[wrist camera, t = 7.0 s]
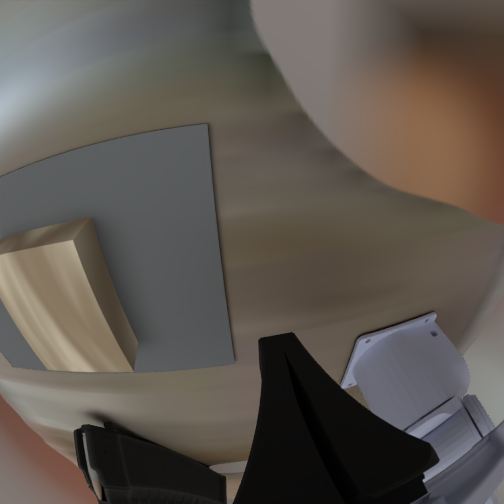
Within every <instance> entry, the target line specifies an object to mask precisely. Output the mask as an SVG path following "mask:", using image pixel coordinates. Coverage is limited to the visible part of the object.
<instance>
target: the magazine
mask: <svg viewBox="0 0 504 504" xmlns="http://www.w3.org/2000/svg"><path fill="white" fill-rule="evenodd" d="M104 427H105V428H102V427H98V426H93V425H89V424H86V425H82V426H81V428H80V429H76V430H74V440H75V448H76V455H77V462H78V466H79V468H80V469H81V470H82V471H83V473H84V476H85V478H86V481H87V483H88V484H89V488H90V489H91V490H92V491H93V492H94V494H95V495H96V497H97V500H98V503H99V504H227V501H226V500H227V496H226V477H225V476H222V475H220V474H218V473H216V472H214V471H213V470H211V469H209V468H207V467H206V466H204V465H202V464H200V463H198V462H196V461H194V460H192V459H190V458H188V457H185V456H183V455H181V454H178V453H176V452H174V451H172V450H169V449H167V448H164V447H162V446H159V445H156V444H153V443H149V442H146V441H144V440H141V439H138V438H135V437H132V436H129V435H126V434H124V433H121V432H118V431H115V430H114V428H113V425H112V423H111V422H104Z"/></svg>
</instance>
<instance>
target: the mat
mask: <svg viewBox="0 0 504 504" xmlns="http://www.w3.org/2000/svg"><path fill="white" fill-rule="evenodd" d="M89 217H92V221H93V224H94V228H95V231H96V234H97V238H98V241H99V244H100V247H101V251H102V254H103V257H104V260H105V263H106V265H107V268H108V271H109V274H110V277H111V279H112V282H113V285H114V287H115V290H116V292H117V295H118V298H119V300H120V302H121V305H122V307H123V310H124V312H125V314H126V317H127V319H128V321H129V324H130V326H131V328H132V330H133V332H134V335H135V337H136V339H137V341H138V346H137V353H136V360H135V367H134V372H74V373H143V372H162V371H176V370H187V369H197V368H207V367H215V366H223V365H230V364H235V360H234V353H233V347H232V340H231V333H230V326H229V319H228V312H227V304H226V297H225V289H224V281H223V273H222V265H221V257H220V248H219V240H218V231H217V222H216V212H215V203H214V193H213V182H212V172H211V161H210V149H209V137H208V124H199V125H190V126H183V127H176V128H169V129H163V130H157V131H151V132H146V133H141V134H136V135H131V136H126V137H121V138H117V139H113V140H109V141H104V142H100V143H97V144H93V145H89V146H85V147H82V148H78V149H75V150H72V151H68V152H65V153H62V154H59V155H56V156H53V157H50V158H47V159H44V160H41V161H39V162H36V163H33V164H31V165H28V166H25V167H23V168H20V169H18V170H15V171H13V172H11V173H8V174H6V175H4V176H1V177H0V240H1V239H2V238H3V237H7V236H11V235H14V234H18V233H22V232H26V231H30V230H34V229H38V228H43V227H47V226H51V225H56V224H60V223H65V222H69V221H74V220H79V219H84V218H89ZM0 352H1V353H2V354H3V356H4V357H5V358H6V359H7V361H8V362H9V363H10V364H11V366H12V367H16V368H24V369H33V370H43V371H55V370H48V369H47V368H46V367H45V365H44V364H43V363H42V361H41V360H40V359H39V357H38V356H37V355H36V353H35V352H34V351H33V349H32V348H31V346H30V345H29V344H28V342H27V341H26V339H25V338H24V336H23V335H22V333H21V332H20V330H19V329H18V327H17V326H16V324H15V322H14V321H13V319H12V318H11V316H10V314H9V312H8V311H7V309H6V307H5V306H4V304H3V302H2V300H1V298H0ZM56 372H72V371H56Z"/></svg>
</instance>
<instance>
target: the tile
mask: <svg viewBox="0 0 504 504" xmlns="http://www.w3.org/2000/svg"><path fill="white" fill-rule="evenodd" d="M0 298H1V300H2V302H3V304H4V306H5V307H6V309H7V311H8V312H9V314H10V316H11V318H12V319H13V321H14V322H15V324H16V326H17V327H18V329H19V330H20V332H21V333H22V335H23V336H24V338H25V339H26V341H27V342H28V344H29V345H30V346H31V348H32V349H33V351H34V352H35V353H36V355H37V356H38V357H39V359H40V360H41V361H42V363H43V364H44V365H45V367H46V368H47V369H48V370H55V371H72V372H134V367H135V360H136V353H137V346H138V341H137V339H136V337H135V335H134V332H133V330H132V328H131V326H130V324H129V321H128V319H127V317H126V314H125V312H124V310H123V307H122V305H121V302H120V300H119V298H118V295H117V292H116V290H115V287H114V285H113V282H112V279H111V277H110V274H109V271H108V268H107V265H106V263H105V260H104V257H103V254H102V251H101V247H100V244H99V241H98V238H97V234H96V231H95V228H94V224H93V221H92V217H89V218H84V219H79V220H74V221H69V222H65V223H60V224H56V225H51V226H47V227H43V228H38V229H34V230H30V231H26V232H22V233H18V234H14V235H11V236H7V237H3V238H2V239H1V240H0Z"/></svg>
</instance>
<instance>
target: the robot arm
mask: <svg viewBox="0 0 504 504" xmlns="http://www.w3.org/2000/svg"><path fill="white" fill-rule="evenodd" d="M436 317H437V314H436V313H435V312H432V313H430V314H427V315H424V316H422V317H419V318H416V319H413V320H410V321H408V322H405V323H402V324H399V325H396V326H393V327H390V328H387V329H383V330H380V331H377V332H374V333H370V334H367V335H364V336H361V337H359V338H358V339H357V341H356V344H355V347H354V350H353V353H352V355H351V358H350V361H349V364H348V367H347V369H346V372H345V375H344V377H343V380H342V382H341V385H340V386H341V387H340V386H339V385H338V384H337V383H336V382H335V381H334V380H333V379H332V378H331V377H330V376H329V375H328V374H327V373H326V372H325V371H324V370H323V368H322V367H321V366H320V365H319V364H318V363H317V362H316V361H315V360H314V358H313V357H312V356H311V355H310V354H309V352H308V351H307V350H306V349H305V347H304V346H303V345H302V343H301V342H300V341H299V339H298V338H297V337H296V335H295V334H294V333H293V332H290V333H285V334H280V335H274V336H269V337H263V338H260V339H259V340H258V345H259V366H260V372H261V379H262V386H261V397H260V406H259V413H258V419H257V425H256V430H255V435H254V439H253V443H252V447H251V451H250V455H249V459H248V462H247V465H246V468H245V472H244V475H243V478H242V481H241V484H240V486H239V489H238V492H237V494H236V497H235V499H234V502H233V504H499V502H498V500H497V498H496V496H495V494H494V492H495V491H496V490H497V488H498V487H499V486H500V484H501V483H502V481H503V480H504V420H503V421H502V422H501V423H500V424H499V425H498V426H497V427H495V425H494V424H493V422H492V421H491V419H490V417H489V415H488V414H487V412H486V411H485V409H484V407H483V406H482V404H481V403H480V401H479V400H478V398H477V397H476V395H469V394H467V395H466V396H465V397H463V396H464V395H465V393H466V392H467V389H468V387H469V381H470V375H469V369H468V366H467V364H466V361H465V360H464V358H463V357H462V355H461V354H460V353H459V351H458V350H457V349H456V347H455V346H454V345H453V344H452V342H451V341H450V340H449V339H448V337H447V336H446V335H445V334H444V332H443V331H442V330H441V329H440V328H439V326H438V325H437V324H436V323H435V322H434V321H435V319H436ZM354 385H358V387H359V389H360V391H361V393H362V395H363V397H364V399H365V401H366V403H367V405H368V407H369V409H370V410H368V409H367V408H365V407H364V406H363V405H361V404H360V403H359V402H358V401H356V400H355V399H354V398H353V397H351V396H350V395H349V394H348V393H347V392H346V391H345V390H343V389H344V388H348V387H351V386H354ZM462 397H463V399H462Z"/></svg>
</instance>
